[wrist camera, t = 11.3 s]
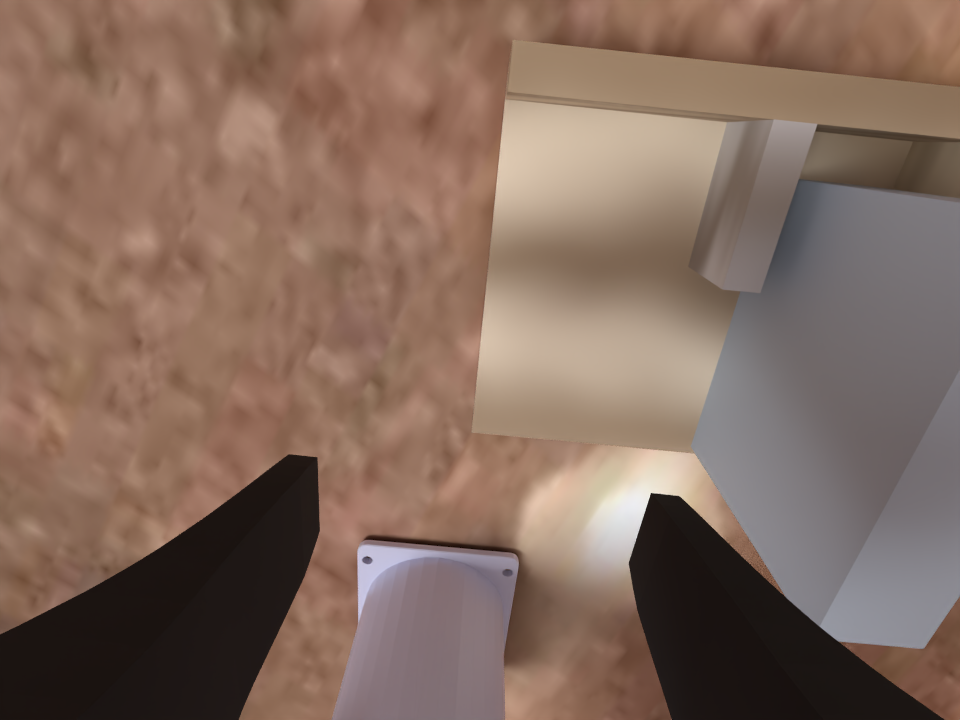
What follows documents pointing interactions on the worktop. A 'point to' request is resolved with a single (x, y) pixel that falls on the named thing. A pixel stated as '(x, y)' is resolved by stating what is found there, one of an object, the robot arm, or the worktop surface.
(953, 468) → the book
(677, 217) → the book rack
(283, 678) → the worktop surface
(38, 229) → the worktop surface
